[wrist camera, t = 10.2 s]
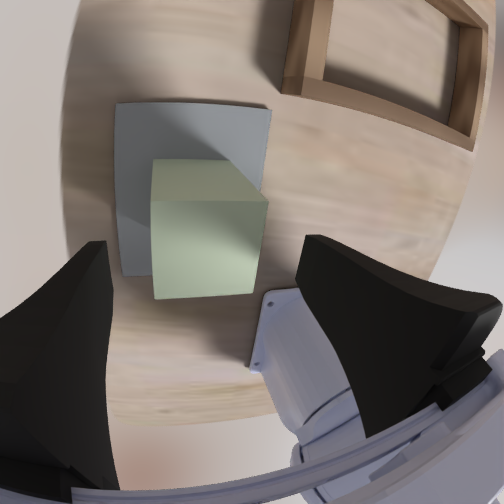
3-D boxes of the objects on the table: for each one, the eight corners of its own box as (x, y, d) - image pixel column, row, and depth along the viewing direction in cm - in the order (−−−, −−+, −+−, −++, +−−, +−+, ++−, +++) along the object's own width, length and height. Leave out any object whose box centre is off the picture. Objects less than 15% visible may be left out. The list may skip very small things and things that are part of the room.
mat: (246, 266, 19) (248, 270, 19) (123, 272, 17) (122, 276, 17) (269, 109, 14) (272, 110, 14) (116, 103, 12) (115, 103, 12)
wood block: (222, 228, 17) (252, 293, 12) (152, 229, 16) (154, 299, 11) (229, 160, 15) (268, 201, 10) (153, 159, 14) (150, 200, 9)
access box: (450, 143, 19) (472, 152, 17) (280, 93, 14) (301, 95, 12) (465, 23, 13) (488, 25, 11) (304, -71, 8) (325, -86, 6)
